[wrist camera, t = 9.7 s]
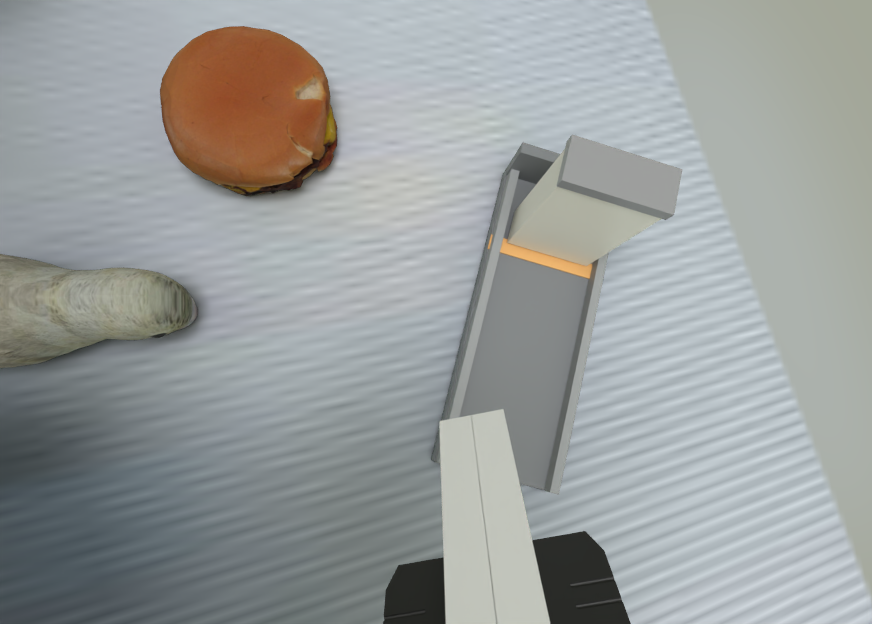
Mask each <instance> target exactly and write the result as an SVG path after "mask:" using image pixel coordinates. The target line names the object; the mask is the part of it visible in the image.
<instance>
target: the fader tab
mask: <svg viewBox="0 0 872 624" xmlns="http://www.w3.org/2000/svg"><path fill="white" fill-rule="evenodd" d="M681 174H682V169H679V168H676V167H673V166H670V165H667V164H663V163H660V162H657V161H654V160H651V159H648V158H645V157H641V156H638V155H635V154H632V153H629V152H626V151H622V150H619V149H616V148H613V147H610V146H607V145H604V144H600V143H597V142H594V141H591V140H588V139H585V138H581V137H578V136H575V135H572V136H571V137H570V138H569V140H568V141H567V143H566V147H565V149H564V151H563V152H562V153H561V154H560V155H559V157H558V158H557V159H556V160H555V162H554V163H553V164H552V165H551V167H550V168H549V169H548V170H547V172H546V173H545V174H544V175H543V177H542V178H541V179H540V180H539V182H538V183H537V184H536V185H535V187H534V188H533V189H532V190H531V192H530V193H529V194H528V195H527V197H526V198H525V199H524V200H523V202H522V203H521V204H520V205H519V207H518V208H517V209H516V210H515V212H514V216H513V220H512V224H511V228H510V232H509V236H508V241H507V243H510V244H513V245H516V246H520V247H523V248H527V249H530V250H533V251H537V252H540V253H543V254H547V255H550V256H554V257H557V258H560V259H564V260H567V261H570V262H574V263H577V264H581V265H584V266H588V265H589V264H591V263H593V262H594V261H596V260H597V259H599V258H600V257H602V256H604V255H605V254H607V253H608V252H610V251H612V250H613V249H615V248H616V247H618V246H619V245H621V244H623V243H624V242H626V241H627V240H629V239H630V238H632V237H634V236H635V235H637V234H638V233H640V232H642V231H643V230H645V229H646V228H648V227H649V226H651V225H653V224H654V223H656V222H657V221H659V220H661V219H664V220H666V219H668V218H670V217H671V216H673V215H674V212H675V206H676V201H677V195H678V190H679V185H680V179H681Z"/></svg>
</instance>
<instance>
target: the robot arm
mask: <svg viewBox="0 0 872 624" xmlns="http://www.w3.org/2000/svg"><path fill="white" fill-rule="evenodd" d="M439 428H440V460H441V491H442V522H443V553H444V558H438V559H432V560H426V561H421V562H415V563H409V564H403V565H398V567H397V569H396V571H395V573H394V575H393V577H392V579H391V581H390V583H389V585H388V587H387V589H386V596H385V609H384V621H383V624H631V623H630V621H629V618H628V615H627V612H626V610H625V607H624V604H623V602H622V600H621V596H620V593H619V590H618V587H617V585H616V582H615V581H614V577H613V574H612V571H611V568H610V565H609V563H608V560H607V557H606V554H605V552H604V550H603V549H602V548H601V547H600V546H599V545H598V544H597V543H596V542H595V541H594V540H593V539H592V538H591V537H590V536H589V535H588V534H587V533H586V532H585V531H583V532H578V533H572V534H566V535H560V536H555V537H549V538H543V539H537V540H532V537H531V533H530V528H529V524H528V519H527V515H526V510H525V505H524V501H523V496H522V492H521V487H520V483H519V478H518V473H517V469H516V464H515V460H514V455H513V451H512V446H511V441H510V437H509V432H508V428H507V423H506V419H505V414H504V409H501V410H495V411H490V412H485V413H480V414H474V415H469V416H464V417H459V418H453V419H448V420H443V421H439Z"/></svg>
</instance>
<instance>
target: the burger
mask: <svg viewBox="0 0 872 624" xmlns="http://www.w3.org/2000/svg"><path fill="white" fill-rule="evenodd" d="M160 97H161V105H162V107H161V108H162V118H163V124H164V128H165V131H166V134H167V136H168V139H169V141H170V144H171V146H172V148H173V151H174V153H175V154H176V156H177V157H178V159H179V160H180V162H182V163H183V164H184V165H185V166H186V167H187V168H189V169H190V170H191V171H192V172H193V173H195V174H197V175H199V176H201V177H203V178H204V179H206V180H210V181H212V182H214V183H215V184H217V185H218V184H220V185H221V186H223V187H225V188H228V189H230V190H232V191H234V192H237V193H239V194H242V195H245V196H248V195H256V194H261V193H266V192H272V193H274V192H276V191H278V190H291V189H296V188H299V187H301V184H302V182H303V179H305V178H307V177H309V176H310V175H311V174H312V173H313V172H314V171H315V170H316V169H317V170H318V172H319V171H322V170H324V169H325V168H327V167H328V166H329V165H330V163H331V161H332V159H333V152H334V150H335V148H336V146H337V133H336V131H337V125H336V121H335V119H334V116H333V112H332V108H331V105H330V92H329V86H328V80H327V78H326V75H325V72H324V70H323V67H322V66H321V65H320V64H319V63H318V62H317V60H316V59H315V58H314V57H313V56H311V55H310V54H309V53H308V52H307V51H306V50H305V49H304V48H303V47H301V46H300V45H299V44H297V43H295V42H293V41H292V40H290V39H288V38H286V37H285V36H283V35H281V34H278V33H275V32H272V31H270V30H265V29H257V28H251V27H245V26H239V27H225V28H220V29H216V30H212V31H208V32H206V33H204V34H202V35H200V36H198V37H196V38H194V39H193V40H191V41H190V42H189V43H188V44H187V45H186V46H185V47H184V48H182V49H181V50H180V51H179V52H178V53H177V54H176V55H175V56H174V58H173V59H172V61H171V63H170V65H169V66H168V68H167V70H166V72H165V74H164V76H163V78H162V83H161V89H160Z"/></svg>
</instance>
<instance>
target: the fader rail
mask: <svg viewBox="0 0 872 624" xmlns="http://www.w3.org/2000/svg"><path fill="white" fill-rule="evenodd" d="M559 155H560V154H558V153H555V152H552V151H549V150H545V149H542V148H539V147H536V146H533V145H529V144H526V143H522V145H521V146H520V148H519V149H518V151H517V153H516V154H515V156H514V157H513V159H512V160H511V162H510V164H509V165H508V167H507V168H506V170H505V172H504V173H503V176H502V180H501V184H500V188H499V192H498V196H497V200H496V204H495V208H494V212H493V216H492V220H491V224H490V228H489V232H488V236H487V240H486V244H485V248H484V252H483V256H482V260H481V264H480V268H479V272H478V276H477V280H476V284H475V288H474V292H473V296H472V300H471V304H470V308H469V311H468V315H467V319H466V323H465V327H464V331H463V335H462V339H461V343H460V347H459V351H458V355H457V359H456V363H455V367H454V371H453V375H452V379H451V383H450V387H449V391H448V395H447V399H446V403H445V407H444V411H443V415H442V419H441V421H443V420H448V419H453V418H459V417H464V416H469V415H474V414H480V413H485V412H490V411H495V410H501V409H504V414H505V419H506V423H507V428H508V432H509V437H510V441H511V446H512V451H513V455H514V460H515V464H516V469H517V473H518V478H519V483H520V484H523V485H527V486H531V487H534V488H538V489H542V490H545V491H548V492H551V493H555V494H558V495H559V491H560V486H561V481H562V476H563V471H564V467H565V462H566V457H567V452H568V447H569V442H570V437H571V433H572V428H573V423H574V418H575V413H576V408H577V404H578V399H579V394H580V389H581V384H582V379H583V374H584V370H585V365H586V360H587V355H588V350H589V345H590V341H591V336H592V331H593V326H594V321H595V316H596V311H597V307H598V302H599V297H600V292H601V287H602V282H603V278H604V273H605V268H606V263H607V258H608V253H609V252H608V253H607V254H605V255H604V256H602V257H600V258H599V259H597V260H596V261H594V262H593V263H591V264H589V265H588V266H584V265H581V264H577V263H574V262H570V261H567V260H564V259H560V258H557V257H554V256H550V255H547V254H543V253H540V252H537V251H533V250H530V249H527V248H523V247H520V246H516V245H513V244H510V243H507V241H508V236H509V232H510V228H511V224H512V220H513V216H514V212H515V210H516V209H517V208H518V207H519V205H520V204H521V203H522V202H523V200H524V199H525V198H526V197H527V195H528V194H529V193H530V192H531V190H532V189H533V188H534V187H535V185H536V184H537V183H538V182H539V180H540V179H541V178H542V177H543V175H544V174H545V173H546V172H547V170H548V169H549V168H550V167H551V165H552V164H553V163H554V162H555V160H556V159H557V158H558V157H559ZM431 460H432V461H434V462H437V463H439V464H441V460H440V428H439V431H438V435H437V439H436V443H435V447H434V451H433V455H432V459H431Z"/></svg>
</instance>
